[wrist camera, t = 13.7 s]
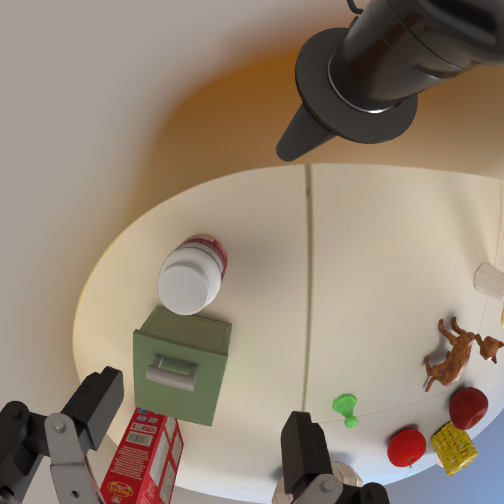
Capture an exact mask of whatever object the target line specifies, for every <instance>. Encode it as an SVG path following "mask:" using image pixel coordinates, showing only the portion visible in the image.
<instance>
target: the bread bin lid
mask: <svg viewBox="0 0 504 504" xmlns="http://www.w3.org/2000/svg"><path fill="white" fill-rule="evenodd" d="M227 357H228V353H227V352H222V351H217V350H213V349H208V348H204V347H200V346H195V345H191V344H187V343H183V342H179V341H175V340H172V339H168V338H164V337H161V336H157V335H154V334H150V333H147V332H143V331H140V330H137V329H135V331H134V332H133V369H134V392H135V406H136V407H139V408H142V409H145V410H148V411H151V412H154V413H158V414H161V415H165V416H168V417H172V418H176V419H180V420H184V421H188V422H192V423H196V424H201V425H206V426H212V422H213V418H214V413H215V409H216V405H217V400H218V396H219V392H220V388H221V383H222V379H223V375H224V370H225V366H226V362H227Z"/></svg>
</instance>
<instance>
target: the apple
mask: <svg viewBox="0 0 504 504" xmlns="http://www.w3.org/2000/svg"><path fill="white" fill-rule="evenodd" d="M487 409H488V400H487V397H486V396H485V395H484V393H483V392H481V391H480V390H478V389H476V388H473V387H467V388H464V389H461V390H460V391H458V392H457V393H456V394H455V395H454V396H453V397H452V399H451V401H450V404H449V414H450V418H451V421H452V423H453V425H454V426H455V427H456V428H457V429H459V430H468V429H470V428H472V427H473V426H475V425H476V424H477V423H478V422H479V421H480V420H481V419H482V418H483V417H484V415H485V414H486V412H487Z"/></svg>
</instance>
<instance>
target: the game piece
mask: <svg viewBox="0 0 504 504" xmlns="http://www.w3.org/2000/svg"><path fill="white" fill-rule="evenodd" d="M356 401H357V400H356V397H354V396H353V395H352V394H345V395H341V396H340V397H338V398H337V399H335V400H334V402H333V406H332V407H333V410H335V411H336V412H338V413H341V414H342V415H343V416H344V417H345V418H346V420H345V421H344V423H345V425H346V427H347V428H349V427H354V426H355V425H356V424H357V422H358V420H357V418H356V417H355V416H353V409H354V407H355V404H356Z"/></svg>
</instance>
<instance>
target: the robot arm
mask: <svg viewBox="0 0 504 504" xmlns="http://www.w3.org/2000/svg"><path fill="white" fill-rule="evenodd" d="M347 3H348V6H349V7H350V9H351V11H352V12H354V13H355V14H360V17H358V16H356V17H355V18H354V19H353V21H352V23H351V24H350V26H349V33H348V34H347V36H346V37H345V39H344V40H343V42H342V43H341V45H340V46H339V47H338V49H337V50H336V52H335V53H334V54H333V55H332V56H331V58H330V60H329V62H328V64H327V69H326V74H327V80H328V83H329V85H330V87H331V89H332V91H333V92H334V94H335V95H336V96H337V97H338V98H339V99H340V100H341V101H342V102H343V103H344V104H345V105H347V106H348V107H350V108H352V109H353V110H356V111H358V112H361V113H366V114H376V113H380V112H383V111H385V110H387V109H389V108H390V107H391V106H393V105H395V104H396V106H395V107H394V108H396V107H398V106H399V105H400V103H401V102H402V101H403V100H405V99H407V98H410V97H412V96H414V95H416V94H418V93H420V92H422V91H424V90H426V89H429V88H431V87H433V86H435V85H437V84H440V83H442V82H444V81H446V80H449V79H451V78H453V77H455V76H458V75H460V74H462V73H465V72H467V71H470V70H472V69H474V68H477V67H480V66H489V67H500V66H504V0H371V1H370V3H369V4H368V5H367V7H366V8H365V10H363V9H358V8H356V6H355V4H354V2H353V0H347ZM394 108H393V109H394ZM123 397H124V386H123V373H122V371H120V370H117V369H115V368H112V367H109V366H106V367H105V368H104V370H103V371H102V373H101V374H99V373H97V372H94V373H92V374H90V375H89V376H87V377H86V378H85V379H84V381H83V382H82V384H81V385H80V386H79V388H78V389H77V391H76V392H75V393H74V394H73V396H72V397H71V399H70V400H69V401H68V403H67V404H66V405H65V407H64V408H63V410H62V411H61V412H60V413H53V414H51V415H49V416H43V415H40V414H36V413H32V412H29V410H28V408H27V406H26V405H25V404H24V403H22V402H20V401H11V402H9V403H7V404H6V405H5V407H4V408H3V409H2V411H1V412H0V504H22V501H23V499H24V496H25V494H26V492H27V490H28V488H29V485H30V483H31V481H32V479H33V477H34V475H35V473H36V471H37V468H38V466H39V464H40V462H41V460H42V458H43V456H44V455H45V456H48V457H50V458H51V465H50V471H51V475H52V479H53V483H54V487H55V490H56V493H57V496H58V500H59V502H60V504H106V503H105V501H104V498H103V496H102V494H101V492H100V490H99V488H98V485H97V483H96V480H95V478H94V475H93V472H92V469H91V467H90V464H89V461H88V457H87V455H86V454H87V452H88V450H89V449H92V450H95V451H97V450H98V448H99V446H100V444H101V442H102V440H103V438H104V436H105V434H106V432H107V430H108V428H109V426H110V424H111V422H112V420H113V418H114V417H115V415H116V413H117V411H118V409H119V407H120V405H121V403H122V401H123ZM281 450H282V463H283V477H284V490H285V494H292V495H293V500H292V501H291V502H290V503H289V504H390V503H389V499H388V496H387V492H386V489H385V488H384V487H383V486H382V485H381V484H379V483H375V482H371V483H367V484H365V485H364V486H363V487H358V486H352V485H347V484H344V483H342V482H341V480H340V479H339V478H338V477H336V476H334V474H333V471H332V466H331V462H330V457H329V453H328V448H327V444H326V441H325V435H324V431H323V430H322V428H321V427H320V426H319V424H318V423H312V421H311V416H310V413H309V412H300V411H293V412H292V413H291V415H290V417H289V418H288V420H287V422H286V424H285V426H284V428H283V430H282V433H281ZM129 504H131V503H129Z"/></svg>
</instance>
